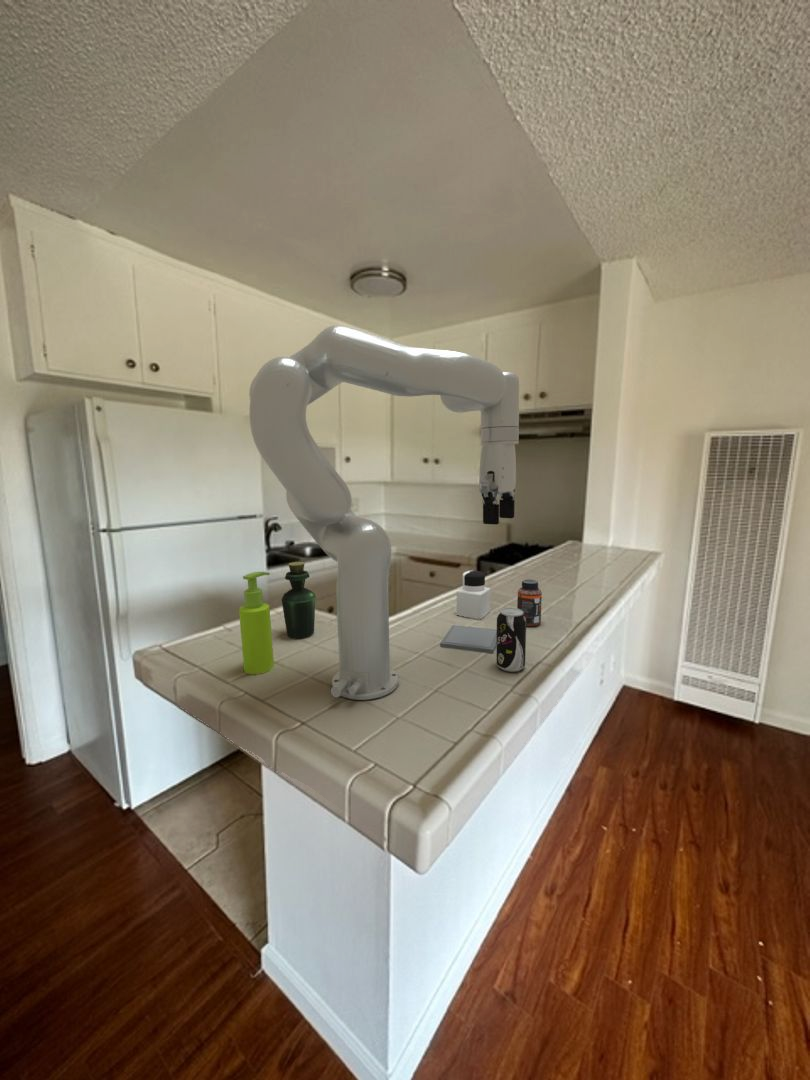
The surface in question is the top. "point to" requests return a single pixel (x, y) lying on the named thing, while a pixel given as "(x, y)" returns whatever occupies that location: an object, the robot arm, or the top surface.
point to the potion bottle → (298, 604)
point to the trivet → (470, 639)
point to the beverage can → (511, 640)
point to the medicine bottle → (473, 596)
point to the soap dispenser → (256, 629)
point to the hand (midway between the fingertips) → (499, 520)
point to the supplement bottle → (530, 602)
